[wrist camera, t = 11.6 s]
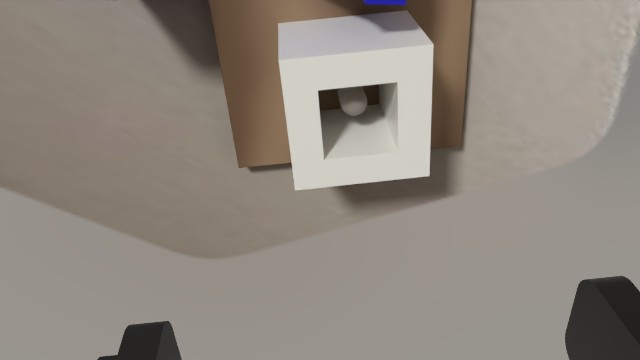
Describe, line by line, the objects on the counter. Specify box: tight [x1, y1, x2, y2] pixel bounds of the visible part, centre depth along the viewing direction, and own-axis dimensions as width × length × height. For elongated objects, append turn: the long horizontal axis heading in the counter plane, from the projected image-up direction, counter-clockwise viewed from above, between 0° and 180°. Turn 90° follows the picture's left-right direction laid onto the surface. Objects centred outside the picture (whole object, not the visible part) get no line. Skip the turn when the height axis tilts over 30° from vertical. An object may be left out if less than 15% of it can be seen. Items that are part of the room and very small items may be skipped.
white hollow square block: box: [278, 10, 434, 190], centre depth 24 cm, size 6×6×5 cm
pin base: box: [209, 0, 472, 168], centre depth 25 cm, size 12×9×5 cm
